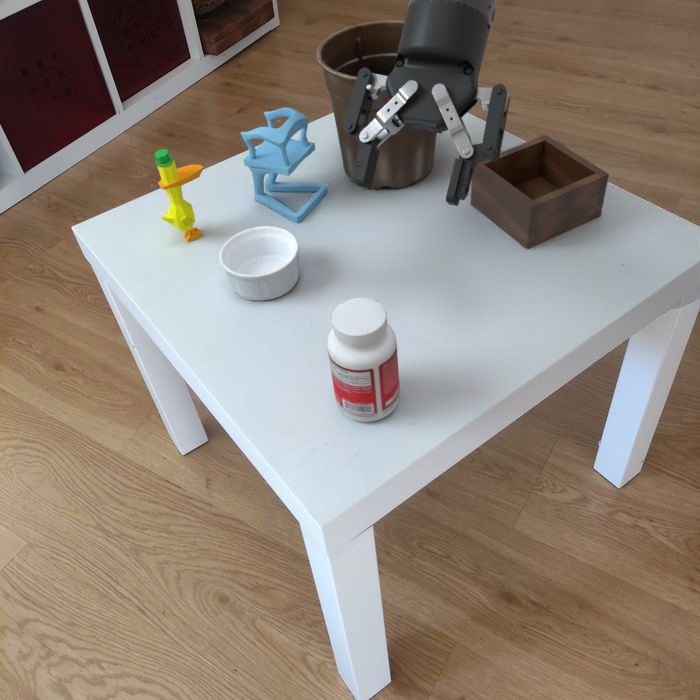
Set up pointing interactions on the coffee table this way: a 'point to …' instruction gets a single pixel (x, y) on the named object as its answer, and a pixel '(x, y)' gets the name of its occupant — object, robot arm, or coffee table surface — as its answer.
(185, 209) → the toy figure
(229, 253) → the ramekin
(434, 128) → the robot arm
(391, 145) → the plant pot
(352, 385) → the pill bottle
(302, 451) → the coffee table surface
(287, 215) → the chair
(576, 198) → the holder
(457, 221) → the coffee table surface
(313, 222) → the coffee table surface
